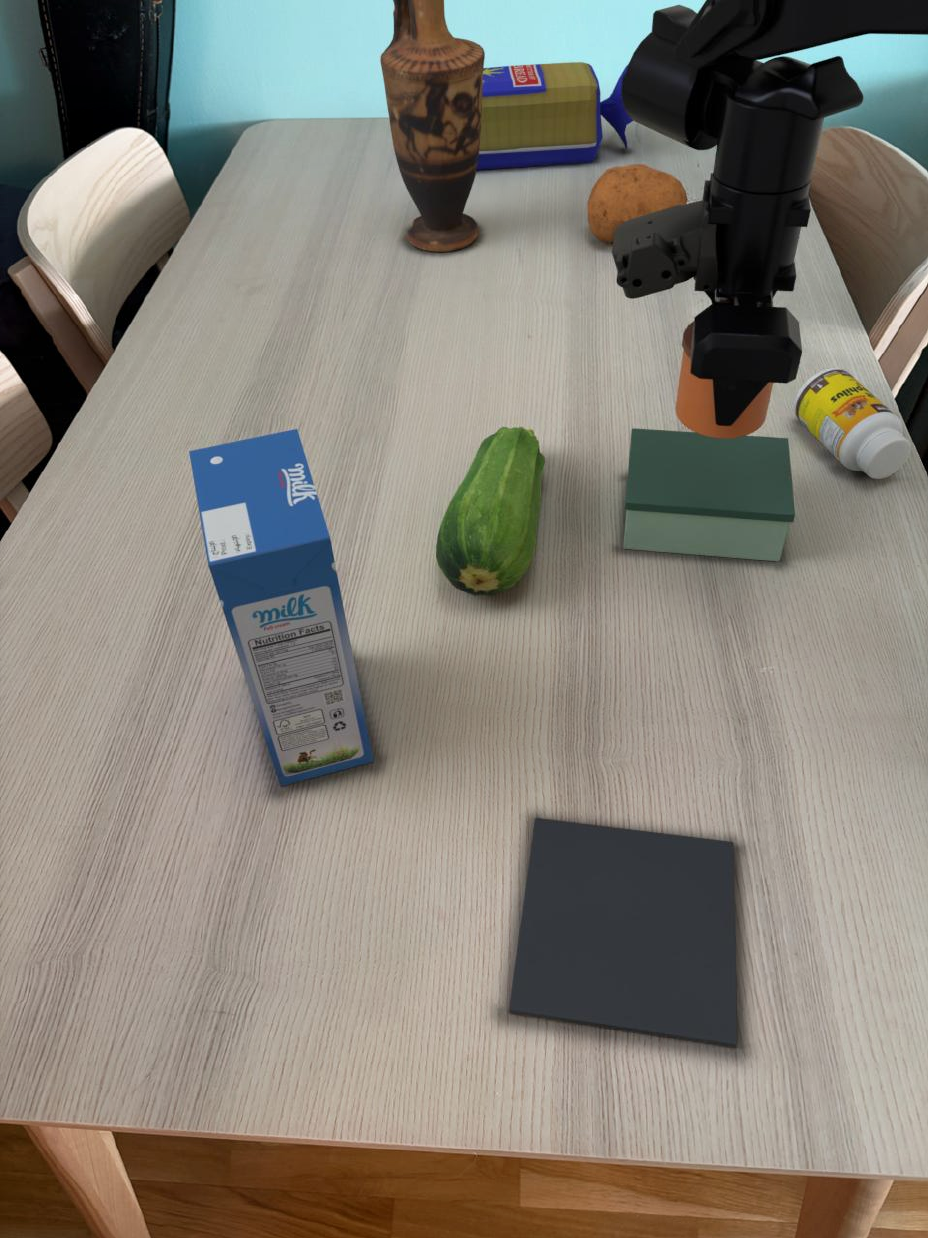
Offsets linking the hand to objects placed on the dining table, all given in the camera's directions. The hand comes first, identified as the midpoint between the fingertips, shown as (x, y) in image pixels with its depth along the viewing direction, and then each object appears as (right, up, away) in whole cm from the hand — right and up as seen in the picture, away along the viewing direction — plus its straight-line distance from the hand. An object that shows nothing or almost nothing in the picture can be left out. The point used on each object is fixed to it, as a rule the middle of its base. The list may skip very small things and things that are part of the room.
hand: (723, 396), depth 69 cm
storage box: (+1, -8, +10) cm, 12 cm away
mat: (-9, -33, -14) cm, 37 cm away
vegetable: (-15, -8, +10) cm, 20 cm away
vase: (-21, +29, +46) cm, 58 cm away
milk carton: (-29, -23, -2) cm, 37 cm away
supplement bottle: (+13, +4, +16) cm, 21 cm away
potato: (+1, +29, +44) cm, 52 cm away
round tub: (0, -1, +1) cm, 1 cm away
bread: (-9, +46, +60) cm, 76 cm away
